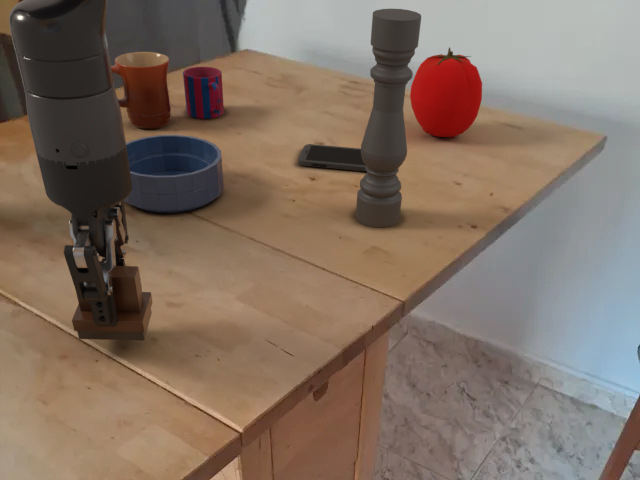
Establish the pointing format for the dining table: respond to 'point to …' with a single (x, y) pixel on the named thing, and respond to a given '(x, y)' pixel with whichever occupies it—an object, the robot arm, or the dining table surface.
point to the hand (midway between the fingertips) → (112, 307)
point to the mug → (144, 88)
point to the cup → (203, 92)
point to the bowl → (173, 173)
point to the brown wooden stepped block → (118, 309)
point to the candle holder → (387, 116)
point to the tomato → (446, 94)
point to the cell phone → (332, 157)
